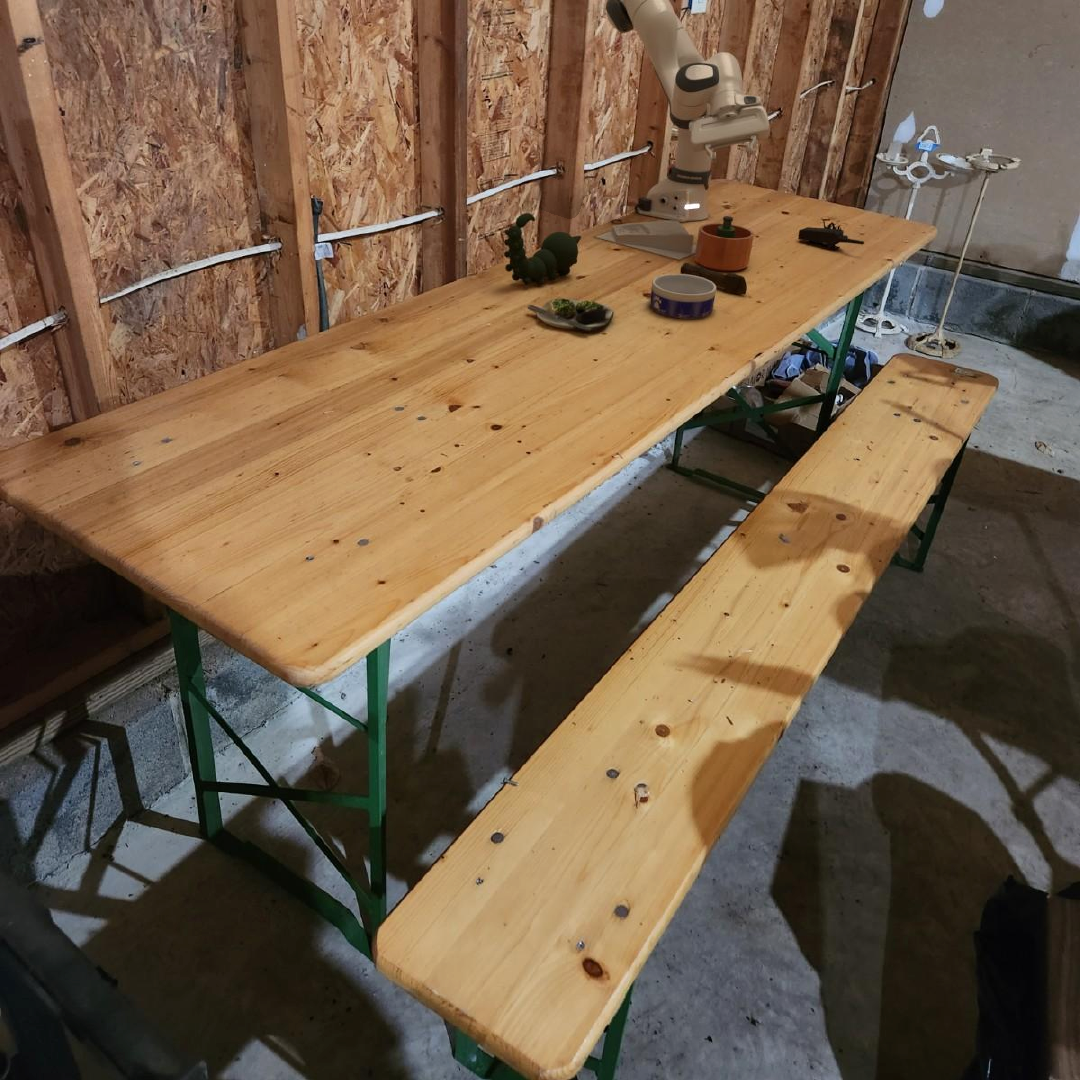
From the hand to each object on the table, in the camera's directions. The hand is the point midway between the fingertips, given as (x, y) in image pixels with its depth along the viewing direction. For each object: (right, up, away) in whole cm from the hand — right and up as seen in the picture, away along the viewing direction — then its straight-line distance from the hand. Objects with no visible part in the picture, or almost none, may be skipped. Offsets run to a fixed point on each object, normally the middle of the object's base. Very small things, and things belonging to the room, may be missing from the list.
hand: (732, 157), depth 240 cm
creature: (+40, -6, +44) cm, 60 cm away
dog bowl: (-16, -43, -16) cm, 49 cm away
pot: (0, -24, +14) cm, 28 cm away
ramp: (-18, -14, +27) cm, 35 cm away
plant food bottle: (0, -23, +14) cm, 27 cm away
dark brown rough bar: (-5, -34, -1) cm, 34 cm away
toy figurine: (-49, -33, -5) cm, 59 cm away
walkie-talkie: (+36, -13, +33) cm, 51 cm away
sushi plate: (-41, -49, -26) cm, 69 cm away
